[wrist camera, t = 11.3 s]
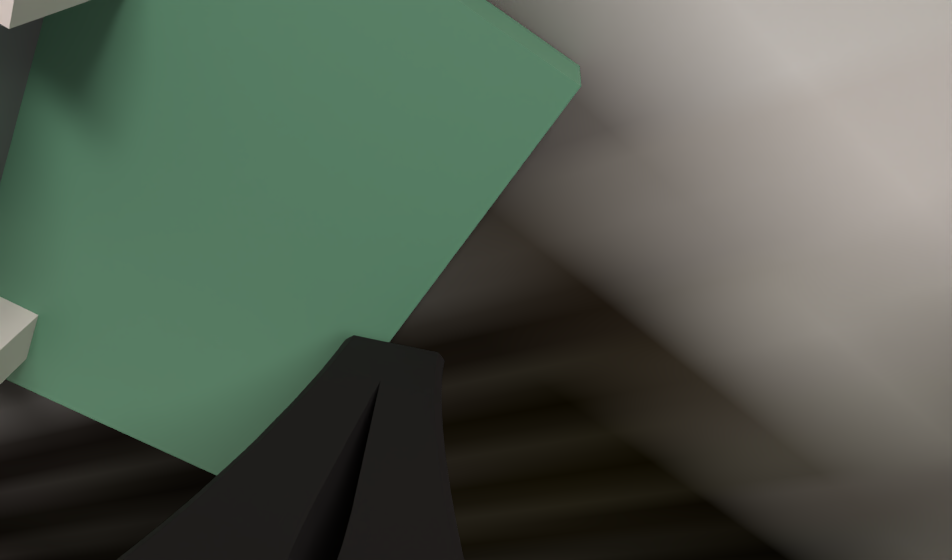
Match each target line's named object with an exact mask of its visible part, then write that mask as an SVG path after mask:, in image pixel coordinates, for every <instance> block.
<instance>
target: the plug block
mask: <svg viewBox="0 0 952 560" xmlns="http://www.w3.org/2000/svg"><path fill="white" fill-rule="evenodd" d="M43 19H44V17H42V18H39V19H36V20H33V21H30V22H28V23H25V24H22V25H19V26H16V27H13V28H11V29H8V28H6V27H5V26H3V25H1V24H0V182H1V179H2V175H3V171H4V167H5V163H6V160H7V156H8V152H9V148H10V144H11V141H12V137H13V133H14V129H15V125H16V122H17V118H18V114H19V110H20V106H21V103H22V99H23V95H24V91H25V87H26V84H27V80H28V76H29V72H30V68H31V65H32V61H33V57H34V53H35V49H36V46H37V42H38V38H39V34H40V30H41V26H42V23H43Z"/></svg>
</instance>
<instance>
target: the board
mask: <svg viewBox="0 0 952 560" xmlns="http://www.w3.org/2000/svg"><path fill="white" fill-rule="evenodd" d="M42 17H44V19H43V23H42V26H41V30H40V34H39V38H38V42H37V46H36V49H35V53H34V57H33V61H32V65H31V68H30V72H29V76H28V80H27V84H26V87H25V91H24V95H23V99H22V103H21V106H20V110H19V114H18V118H17V122H16V125H15V129H14V133H13V137H12V141H11V144H10V148H9V152H8V156H7V160H6V163H5V167H4V171H3V175H2V179H1V182H0V384H1V383H2V382H3V381H4V380H5V379H6V380H8V381H11V382H13V383H15V384H17V385H19V386H22V387H24V388H26V389H28V390H30V391H32V392H35V393H37V394H39V395H41V396H43V397H46V398H48V399H50V400H52V401H54V402H57V403H59V404H61V405H63V406H65V407H68V408H70V409H72V410H74V411H76V412H79V413H81V414H83V415H85V416H87V417H90V418H92V419H94V420H96V421H98V422H100V423H103V424H105V425H107V426H109V427H111V428H114V429H116V430H118V431H120V432H122V433H125V434H127V435H129V436H131V437H133V438H136V439H138V440H140V441H142V442H144V443H147V444H149V445H151V446H153V447H155V448H158V449H160V450H162V451H164V452H166V453H168V454H171V455H173V456H175V457H177V458H179V459H182V460H184V461H186V462H188V463H190V464H193V465H195V466H197V467H199V468H201V469H204V470H206V471H208V472H210V473H212V474H215V475H218V474H219V473H220V472H221V471H222V470H223V469H225V468H226V467H227V466H228V465H229V464H230V463H231V462H232V461H233V460H234V459H235V458H237V457H238V456H239V455H240V454H241V453H242V452H243V451H244V450H245V449H246V448H247V447H248V446H249V445H250V444H251V443H253V442H254V441H255V440H256V439H257V438H258V437H259V436H260V435H261V434H262V432H263V431H264V430H265V429H266V428H267V427H268V426H269V425H270V424H271V423H272V422H273V421H274V420H275V419H276V418H277V417H278V416H279V415H280V414H281V413H282V412H283V411H284V410H285V409H286V408H287V407H288V406H289V405H290V404H291V403H292V402H293V401H294V400H295V399H296V397H297V396H298V395H299V394H300V393H301V392H302V391H303V390H304V389H305V388H306V386H307V385H308V384H309V383H310V382H311V381H312V380H313V379H314V378H315V376H316V375H317V374H318V373H319V372H320V371H321V369H322V368H323V367H324V366H325V365H326V364H327V362H328V361H329V360H330V359H331V357H332V356H333V355H334V354H335V352H336V351H337V350H338V349H339V347H340V346H341V345H342V343H343V342H344V341H345V339H347V338H349V337H351V336H353V335H356V336H360V337H365V338H370V339H375V340H380V341H385V342H390V340H391V339H392V338H393V336H394V335H395V334H396V332H397V331H398V330H399V328H400V327H401V326H402V324H403V323H404V322H405V320H406V319H407V318H408V316H409V315H410V314H411V312H412V311H413V310H414V308H415V307H416V306H417V304H418V303H419V302H420V300H421V299H422V298H423V296H424V295H425V294H426V292H427V291H428V290H429V288H430V287H431V286H432V284H433V283H434V282H435V280H436V279H437V278H438V276H439V275H440V274H441V272H442V271H443V270H444V268H445V267H446V266H447V264H448V263H449V262H450V260H451V259H452V258H453V256H454V255H455V254H456V252H457V251H458V250H459V248H460V247H461V246H462V244H463V243H464V242H465V240H466V239H467V238H468V236H469V235H470V234H471V232H472V231H473V230H474V228H475V227H476V226H477V224H478V223H479V222H480V220H481V219H482V218H483V216H484V215H485V214H486V212H487V211H488V210H489V208H490V207H491V206H492V204H493V203H494V202H495V200H496V199H497V198H498V196H499V195H500V194H501V192H502V191H503V190H504V188H505V187H506V186H507V184H508V183H509V182H510V180H511V179H512V178H513V176H514V175H515V174H516V172H517V171H518V170H519V168H520V167H521V166H522V164H523V163H524V162H525V160H526V159H527V158H528V156H529V155H530V154H531V152H532V151H533V150H534V148H535V147H536V146H537V144H538V143H539V142H540V140H541V139H542V138H543V136H544V135H545V134H546V132H547V131H548V130H549V128H550V127H551V126H552V124H553V123H554V122H555V120H556V119H557V118H558V116H559V115H560V114H561V112H562V111H563V110H564V108H565V107H566V106H567V104H568V103H569V102H570V100H571V99H572V98H573V96H574V95H575V94H576V92H577V91H578V90H579V88H580V87H581V78H580V66H579V65H577V64H576V63H574V62H573V61H572V60H570V59H569V58H567V57H566V56H565V55H563V54H562V53H560V52H559V51H557V50H556V49H555V48H553V47H552V46H550V45H549V44H548V43H546V42H545V41H543V40H542V39H540V38H539V37H538V36H536V35H535V34H533V33H532V32H530V31H529V30H528V29H526V28H525V27H523V26H522V25H521V24H519V23H518V22H516V21H515V20H513V19H512V18H511V17H509V16H508V15H506V14H505V13H503V12H502V11H501V10H499V9H498V8H496V7H495V6H494V5H492V4H491V3H489V2H488V1H486V0H0V24H1V25H3V26H5V27H6V28H8V29H11V28H13V27H16V26H19V25H22V24H25V23H28V22H30V21H33V20H36V19H39V18H42Z"/></svg>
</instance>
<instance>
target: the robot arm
mask: <svg viewBox="0 0 952 560" xmlns="http://www.w3.org/2000/svg"><path fill="white" fill-rule="evenodd" d="M444 361H445V360H444V359H443V358H442V357H441V355H440V354H439V353H438V352H433V351H428V350H423V349H418V348H414V347H409V346H404V345H399V344H394V343H389V342H385V341H380V340H375V339H370V338H365V337H360V336H356V335H353V336H351V337H349V338H347V339H345V341H344V342H343V343H342V345H341V346H340V347H339V349H338V350H337V351H336V352H335V354H334V355H333V356H332V357H331V359H330V360H329V361H328V362H327V364H326V365H325V366H324V367H323V368H322V369H321V371H320V372H319V373H318V374H317V375H316V376H315V378H314V379H313V380H312V381H311V382H310V383H309V384H308V385H307V386H306V388H305V389H304V390H303V391H302V392H301V393H300V394H299V395H298V396H297V397H296V399H295V400H294V401H293V402H292V403H291V404H290V405H289V406H288V407H287V408H286V409H285V410H284V411H283V412H282V413H281V414H280V415H279V416H278V417H277V418H276V419H275V420H274V421H273V422H272V423H271V424H270V425H269V426H268V427H267V428H266V429H265V430H264V431H263V432H262V434H261V435H260V436H259V437H258V438H257V439H256V440H255V441H254V442H253V443H251V444H250V445H249V446H248V447H247V448H246V449H245V450H244V451H243V452H242V453H241V454H240V455H239V456H238V457H237V458H235V459H234V460H233V461H232V462H231V463H230V464H229V465H228V466H227V467H226V468H225V469H223V470H222V471H221V472H220V473H219V474H218V475H217V476H216V477H215V478H214V479H213V480H211V481H210V482H209V483H208V484H207V485H206V486H205V487H204V488H203V489H202V490H201V491H199V492H198V493H197V494H196V495H195V496H194V497H193V498H191V499H190V500H189V501H188V502H187V503H186V504H184V505H183V506H182V507H181V508H180V509H179V510H177V511H176V512H175V513H174V514H173V515H171V516H170V517H169V518H168V519H167V520H165V521H164V522H163V523H162V524H161V525H159V526H158V527H157V528H156V529H155V530H153V531H152V532H151V533H150V534H148V535H147V536H146V537H144V538H143V539H142V540H141V541H139V542H138V543H137V544H136V545H134V546H133V547H132V548H131V549H129V550H128V551H127V552H126V553H124V554H123V555H122V556H121V557H119V558H118V559H117V560H464V558H463V553H462V548H461V544H460V539H459V534H458V529H457V524H456V519H455V514H454V508H453V502H452V497H451V491H450V484H449V476H448V469H447V462H446V455H445V447H444V437H443V424H442V404H441V388H442V373H443V366H444Z"/></svg>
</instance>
